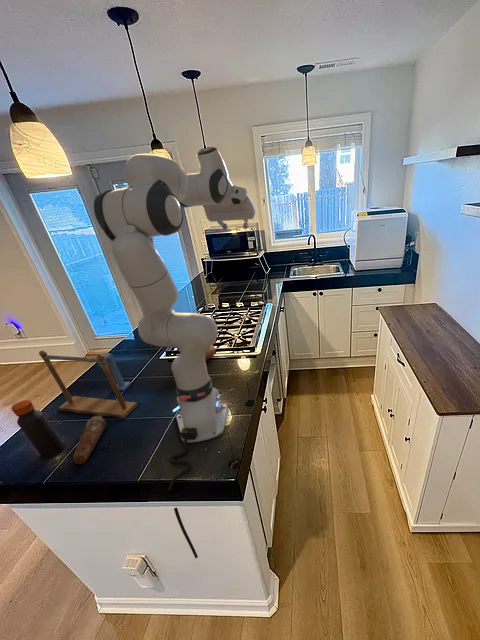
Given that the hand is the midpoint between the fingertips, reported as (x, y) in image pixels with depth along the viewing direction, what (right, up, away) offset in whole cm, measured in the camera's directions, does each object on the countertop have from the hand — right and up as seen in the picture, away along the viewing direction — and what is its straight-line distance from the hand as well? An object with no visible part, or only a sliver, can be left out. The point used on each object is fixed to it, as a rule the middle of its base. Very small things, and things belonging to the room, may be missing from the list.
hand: (235, 228), depth 131 cm
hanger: (-51, -67, +5) cm, 84 cm away
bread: (-45, -86, -24) cm, 100 cm away
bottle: (-58, -88, -25) cm, 108 cm away
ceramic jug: (-21, -52, +24) cm, 61 cm away
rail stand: (-54, -75, -6) cm, 92 cm away
